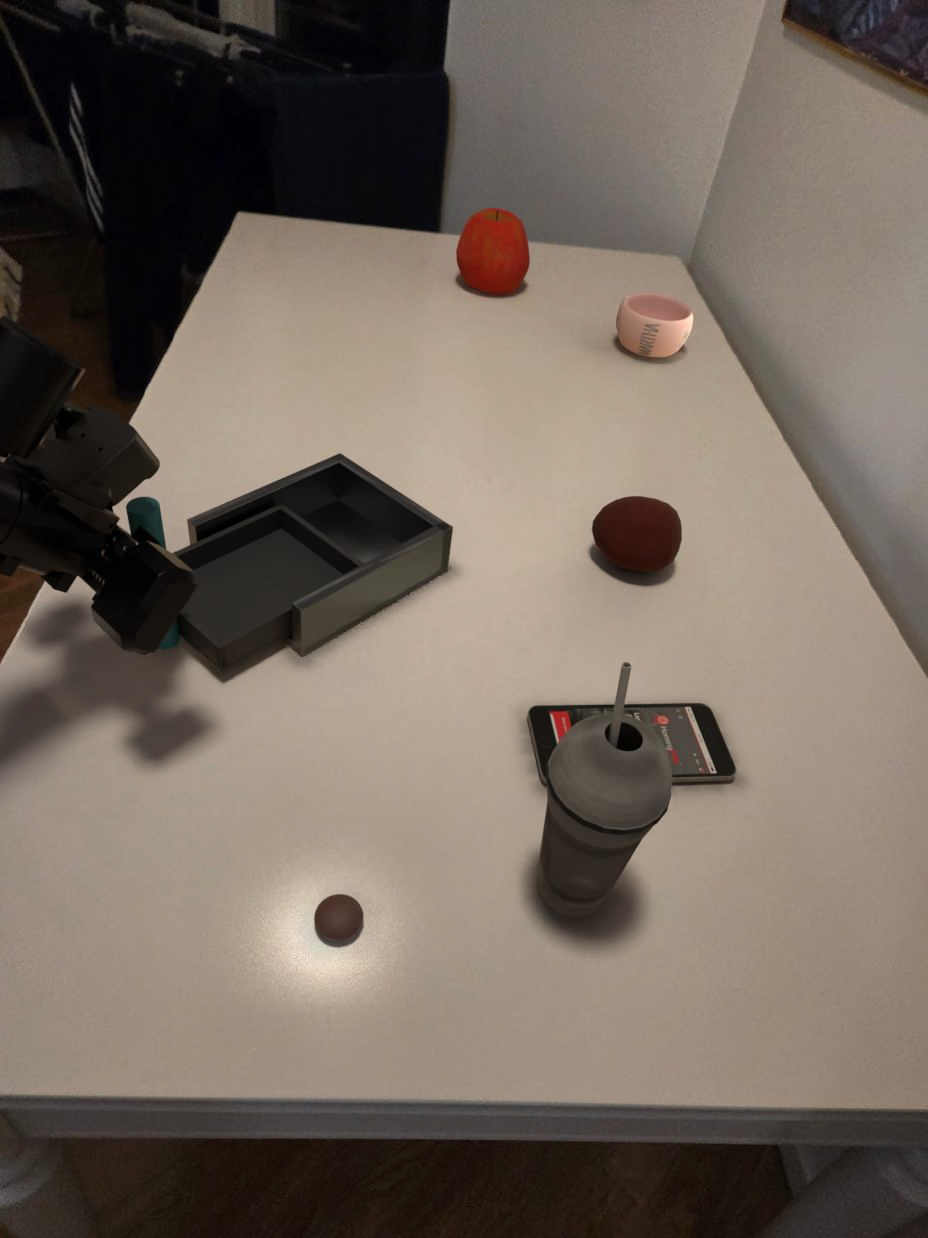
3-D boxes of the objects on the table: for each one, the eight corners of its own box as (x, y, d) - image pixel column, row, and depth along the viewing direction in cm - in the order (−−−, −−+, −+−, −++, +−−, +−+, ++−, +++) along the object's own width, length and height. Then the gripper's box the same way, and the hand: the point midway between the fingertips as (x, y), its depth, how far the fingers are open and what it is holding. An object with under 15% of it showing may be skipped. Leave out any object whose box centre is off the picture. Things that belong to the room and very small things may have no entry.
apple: (449, 267, 134) (456, 193, 127) (519, 272, 136) (530, 199, 128) (456, 297, 126) (464, 220, 119) (530, 301, 128) (543, 225, 121)
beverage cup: (572, 960, 55) (653, 758, 41) (493, 877, 58) (544, 665, 45) (647, 895, 58) (744, 690, 45) (568, 820, 62) (636, 611, 49)
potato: (589, 530, 88) (604, 470, 83) (673, 548, 87) (693, 489, 83) (580, 574, 83) (596, 514, 78) (670, 594, 82) (691, 534, 77)
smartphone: (526, 705, 69) (709, 702, 71) (525, 711, 69) (706, 708, 71) (543, 782, 63) (740, 776, 66) (542, 788, 64) (736, 782, 66)
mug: (682, 371, 116) (695, 328, 112) (608, 357, 117) (618, 314, 113) (683, 334, 125) (695, 293, 121) (614, 321, 126) (624, 279, 122)
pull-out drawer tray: (302, 657, 71) (301, 611, 68) (192, 565, 78) (186, 519, 74) (447, 570, 81) (453, 526, 78) (339, 495, 88) (340, 452, 84)
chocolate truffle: (365, 903, 56) (366, 890, 55) (360, 948, 54) (361, 935, 53) (317, 900, 56) (317, 886, 55) (311, 945, 53) (310, 932, 52)
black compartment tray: (197, 688, 66) (177, 552, 57) (112, 608, 71) (82, 473, 63) (368, 591, 76) (373, 463, 67) (282, 527, 81) (277, 401, 73)
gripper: (149, 463, 47) (311, 544, 61) (-18, 333, 56) (158, 430, 70) (40, 635, 48) (225, 677, 62) (-109, 481, 57) (84, 548, 70)
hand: (172, 574), depth 66 cm, fingers closed on black compartment tray, 2 cm apart
